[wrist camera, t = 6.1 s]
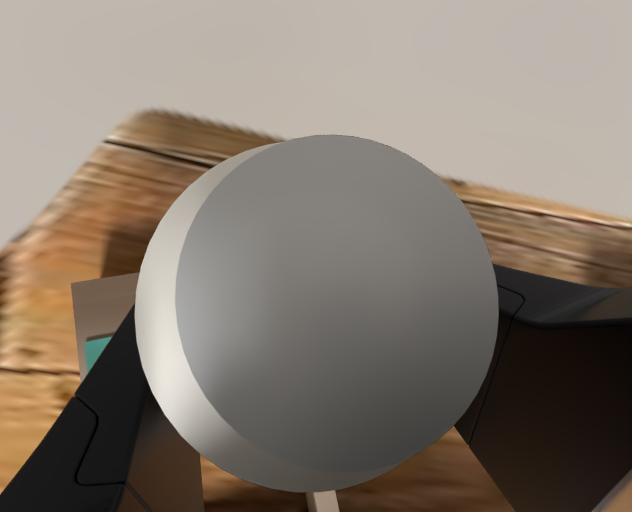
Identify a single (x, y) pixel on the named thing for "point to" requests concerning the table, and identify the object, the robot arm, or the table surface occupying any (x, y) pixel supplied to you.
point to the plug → (316, 312)
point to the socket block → (104, 319)
